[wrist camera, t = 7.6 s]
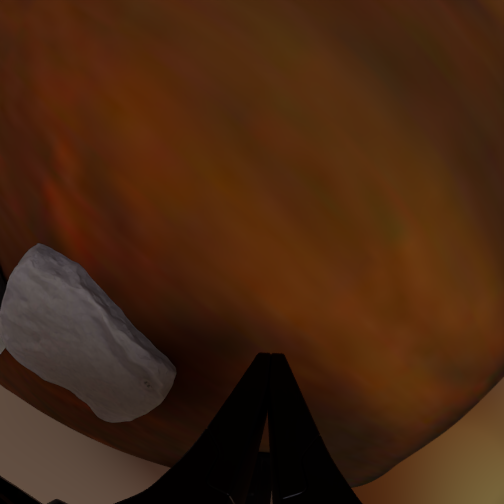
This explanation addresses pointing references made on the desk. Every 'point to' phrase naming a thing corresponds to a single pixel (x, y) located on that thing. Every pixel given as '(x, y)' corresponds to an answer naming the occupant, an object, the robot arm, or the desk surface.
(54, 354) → the stone block
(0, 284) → the black rectangular block
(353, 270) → the desk surface
